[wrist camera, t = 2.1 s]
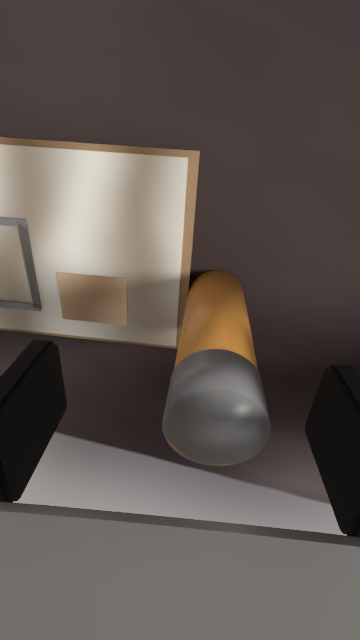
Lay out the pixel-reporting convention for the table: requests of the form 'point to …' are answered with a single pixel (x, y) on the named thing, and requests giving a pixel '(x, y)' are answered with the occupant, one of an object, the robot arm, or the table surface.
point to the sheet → (96, 240)
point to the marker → (216, 379)
